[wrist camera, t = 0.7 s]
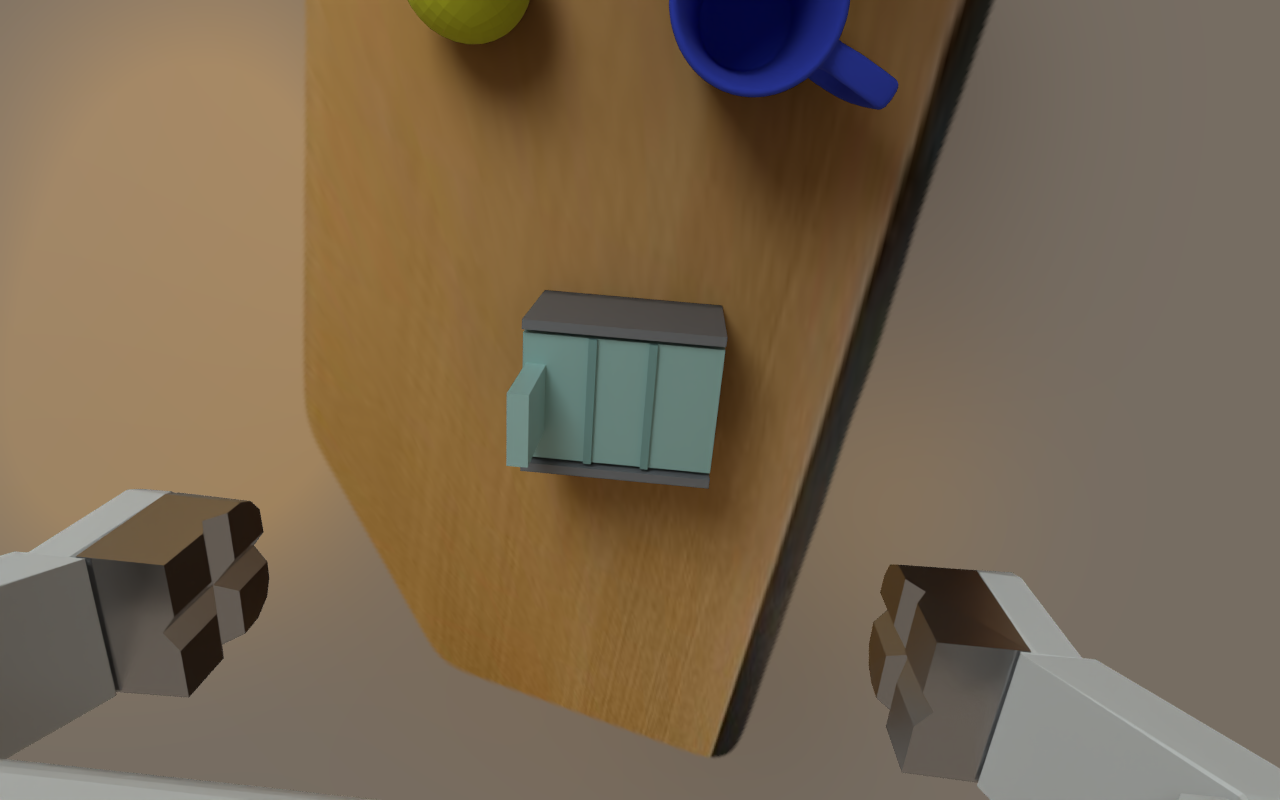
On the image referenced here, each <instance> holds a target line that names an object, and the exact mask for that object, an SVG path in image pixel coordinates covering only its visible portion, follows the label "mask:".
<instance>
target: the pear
mask: <svg viewBox="0 0 1280 800" xmlns="http://www.w3.org/2000/svg"><path fill="white" fill-rule="evenodd" d="M408 2H409V4H410V6H411V7H412V9H413V10H414V11H415V13H416V14H417V15H418V17H419V18H420V19H421V20H422V21H423V22H424V23H425V24H426V25H427V26H428V27H429V28H430V29H432V30H433V31H435V32H436V33H438V34H439V35H441V36H443V37H445V38H448V39H450V40H452V41H455V42H460V43H465V44H484V43H488V42H491V41H495V40H497V39H499V38H501V37H503V36H505V35H506V34H507V33H508V32H510V31H511V30H512V29H513V28H514V27H515V26H516V25H517V24H518V22H519V21H520V20H521V19H522V17H523V15H524V13H525V11H526V9H527V7H528V4H529V0H408Z"/></svg>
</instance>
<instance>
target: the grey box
mask: <svg viewBox="0 0 1280 800" xmlns="http://www.w3.org/2000/svg"><path fill="white" fill-rule="evenodd" d="M522 329H527V330H538V331H549V332H560V333H571V334H583V335H594V336H605V337H616V338H627V339H639V340H650V341H661V342H672V343H683V344H695V345H706V346H717V347H726V345H727V332H726V326H725V320H724V314H723V308H722V306H721V305H709V304H698V303H686V302H675V301H663V300H652V299H641V298H629V297H618V296H606V295H595V294H584V293H572V292H561V291H549V290H545V291H544V292H543V293H542V294H541V296H540V297H539V298H538V300H537V301H536V302H535V303H534V305H533V306H532V307H531V309H530V310H529V311H528V312H527V314H526V315H525V316H524V317H523V319H522ZM520 471H530V472H540V473H551V474H561V475H572V476H582V477H593V478H603V479H614V480H624V481H635V482H645V483H656V484H666V485H677V486H687V487H698V488H708V489H709V481H710V479H709V473H701V472H690V471H680V470H669V469H659V468H648V469H647V470H645V469H640V467H637V466H627V465H616V464H606V463H595V462H591V464H583V461H574V460H563V459H553V458H542V457H532V459H531V461H530V464H529V466H528V468H526V467H520Z"/></svg>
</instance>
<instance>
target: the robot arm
mask: <svg viewBox="0 0 1280 800" xmlns="http://www.w3.org/2000/svg"><path fill="white" fill-rule="evenodd" d="M262 533H263V527H262V520H261V515H260V509H259V508H257V507H256V506H255V505H254V504H253V503H252V502H251V501H245V500H236V499H228V498H219V497H211V496H203V495H194V494H186V493H185V494H184V493H174V492H171V491H160V490H147V489H132V490H126V491H125V492H123V493H121V494H120V495H118V496H117V497H115V498H114V499H112V500H110V501H109V502H107V503H106V504H104V505H102V506H101V507H99V508H98V509H96V510H95V511H93V512H91V513H90V514H88V515H87V516H85V517H84V518H82V519H80V520H79V521H77V522H76V523H74V524H73V525H71V526H69V527H68V528H66V529H65V530H63V531H61V532H60V533H58V534H57V535H55V536H54V537H52V538H50V539H49V540H47V541H46V542H44V543H43V544H41V545H40V546H38V547H37V548H35V549H33V550H31V551H30V552H28V553H24V552H12V553H9V554H5V555H2V556H0V800H377V799H367V798H358V797H349V796H339V795H330V794H321V793H311V792H303V791H294V790H284V789H275V788H265V787H257V786H248V785H239V784H229V783H220V782H211V781H201V780H192V779H183V778H174V777H165V776H155V775H147V774H138V773H128V772H118V771H109V770H101V769H92V768H82V767H73V766H64V765H55V764H45V763H37V762H27V761H18V760H9V759H7V758H9V757H10V756H12V755H14V754H15V753H17V752H19V751H21V750H22V749H24V748H26V747H28V746H29V745H31V744H33V743H35V742H36V741H38V740H40V739H42V738H43V737H45V736H47V735H49V734H50V733H52V732H54V731H56V730H57V729H59V728H61V727H63V726H64V725H66V724H68V723H70V722H71V721H73V720H75V719H76V718H78V717H80V716H82V715H83V714H85V713H87V712H88V711H90V710H92V709H94V708H96V707H97V706H99V705H101V704H103V703H104V702H106V701H108V700H110V699H111V698H113V697H115V696H116V692H124V693H137V694H150V695H164V696H177V697H178V696H179V697H190V695H191V694H192V693H193V692H194V691H195V690H196V689H197V688H198V687H199V685H200V684H201V683H202V682H203V681H204V679H206V678H207V676H208V675H209V674H210V673H211V671H213V670H214V668H215V667H216V666H217V665H218V664H219V663H220V662H221V661H222V659H223V658H224V657H223V648H222V644H224V643H226V642H228V641H231V640H233V639H235V638H237V637H239V636H241V635H243V634H245V633H246V632H247V631H248V630H249V628H250V627H251V626H252V625H253V624H254V622H255V621H256V620H257V619H258V617H259V615H260V612H261V610H262V607H263V605H264V603H265V600H266V598H267V593H268V584H269V573H268V563H267V561H266V560H265V558H264V557H263V556H262V555H261V553H259V551H258V550H257V549H256V548H255V546H254V544H255V543H256V542H257V540H258V539H259V537H260V536H261V535H262ZM880 593H881V595H882V598H883V600H884V602H885V605H886V607H887V611H885V612H884V613H883V614H882V615H881V616H880V617H879V618H877V619H876V620H875V621H874V622H873V627H872V632H871V637H870V643H869V670H870V677H871V683H872V686H873V689H874V692H875V695H876V698H877V699H878V700H879V701H880V702H881V703H883V704H884V705H885V706H886V707H887V708H888V709H890V712H889V716H888V720H887V725H886V728H887V731H888V734H889V737H890V740H891V742H892V745H893V748H894V751H895V754H896V757H897V760H898V763H899V766H900V768H901V771H902V772H903V773H910V774H917V775H925V776H933V777H940V778H948V779H955V780H962V781H970V782H977V783H978V784H977V787H978V788H979V789H980V790H981V791H982V792H983V793H984V794H985V795H986V796H987V797H988V798H989V799H990V800H1280V768H1278V767H1276V766H1275V765H1273V764H1271V763H1270V762H1268V761H1266V760H1265V759H1263V758H1261V757H1260V756H1258V755H1256V754H1254V753H1253V752H1251V751H1249V750H1248V749H1246V748H1244V747H1243V746H1241V745H1239V744H1238V743H1236V742H1234V741H1233V740H1231V739H1229V738H1227V737H1226V736H1224V735H1222V734H1221V733H1219V732H1217V731H1216V730H1214V729H1212V728H1210V727H1209V726H1207V725H1205V724H1204V723H1202V722H1200V721H1199V720H1197V719H1195V718H1194V717H1192V716H1190V715H1189V714H1187V713H1185V712H1184V711H1182V710H1180V709H1178V708H1177V707H1175V706H1173V705H1172V704H1170V703H1168V702H1167V701H1165V700H1163V699H1162V698H1160V697H1158V696H1156V695H1155V694H1153V693H1152V692H1150V691H1148V690H1146V689H1145V688H1143V687H1141V686H1140V685H1138V684H1136V683H1135V682H1133V681H1131V680H1130V679H1128V678H1126V677H1124V676H1123V675H1121V674H1119V673H1118V672H1116V671H1114V670H1113V669H1111V668H1109V667H1108V666H1106V665H1104V664H1103V663H1101V662H1099V661H1098V660H1095V659H1085V658H1082V657H1081V656H1080V655H1079V653H1078V652H1077V651H1076V649H1075V648H1074V647H1073V645H1072V644H1071V643H1070V642H1069V640H1068V639H1067V638H1066V636H1065V635H1064V634H1063V632H1062V631H1061V630H1060V628H1059V627H1058V626H1057V624H1056V623H1055V622H1054V620H1053V619H1052V618H1051V616H1050V615H1049V614H1048V613H1047V611H1046V610H1045V609H1044V607H1043V606H1042V605H1041V603H1040V602H1039V601H1038V599H1037V598H1036V597H1035V596H1034V594H1033V593H1032V592H1031V590H1030V589H1029V588H1028V586H1027V585H1026V584H1025V582H1024V581H1023V580H1022V578H1021V577H1019V576H1017V575H1015V574H1014V573H1012V572H996V571H980V570H964V569H950V568H936V567H922V566H909V565H890V566H889V567H888V570H887V571H886V573H885V575H884V579H883V583H882V588H881V592H880Z"/></svg>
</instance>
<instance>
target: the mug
mask: <svg viewBox="0 0 1280 800" xmlns="http://www.w3.org/2000/svg"><path fill="white" fill-rule="evenodd" d="M849 5H850V0H669V11H670V19H671V25H672V29H673V33H674V36H675V39H676V42H677V44H678V46H679V49H680V51H681V52H682V54H683V56H684V58H685V59H686V61H687V62H688V63H689V65H690V66H691V67H692V69H693V70H694V71H695V72H696V73H697V74H698V75H699V76H700V77H701V78H703V79H704V80H705V81H706V82H708V83H709V84H711V85H712V86H714V87H716V88H718V89H720V90H722V91H724V92H727V93H730V94H733V95H737V96H743V97H764V96H770V95H774V94H778V93H781V92H784V91H786V90H788V89H790V88H793V87H794V86H796V85H798V84H800V83H801V82H803V81H804V80H806V79H807V78H809V79H810V80H812V81H813V82H814V83H816V84H817V85H819V86H820V87H822V88H823V89H825V90H826V91H828V92H829V93H831V94H833V95H835V96H836V97H838V98H840V99H842V100H844V101H847V102H849V103H852V104H855V105H859V106H862V107H867V108H872V109H877V110H879V109H882V108H884V107H886V105H887V104H888V103H889V102H890V101H891V100H892V98H893V96H894V95H895V93H896V92H897V89H898V82H897V80H896V79H895V78H893V77H892V76H891V75H890V74H888V73H887V72H886V71H884V70H883V69H882V68H880V67H879V66H877V65H876V64H875V63H873V62H872V61H871V60H869V59H868V58H866V57H865V56H863V55H862V54H860V53H859V52H857V51H856V50H854V49H852V48H851V47H849V46H847V45H846V44H844V43H842V42H841V41H840V40H839V38H840V36H841V33H842V31H843V28H844V25H845V22H846V19H847V15H848V11H849Z"/></svg>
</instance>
